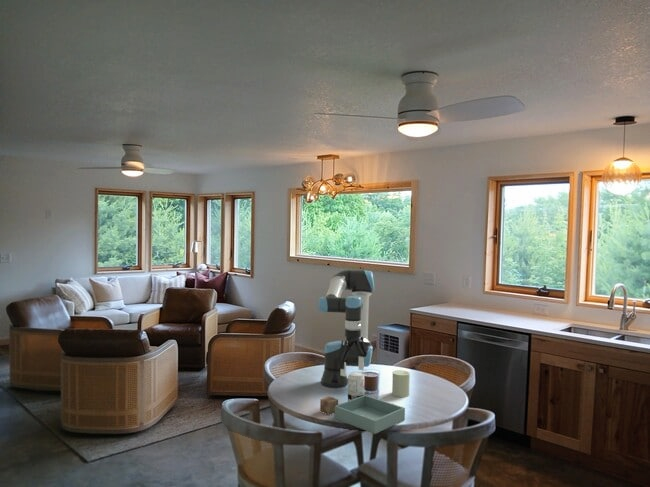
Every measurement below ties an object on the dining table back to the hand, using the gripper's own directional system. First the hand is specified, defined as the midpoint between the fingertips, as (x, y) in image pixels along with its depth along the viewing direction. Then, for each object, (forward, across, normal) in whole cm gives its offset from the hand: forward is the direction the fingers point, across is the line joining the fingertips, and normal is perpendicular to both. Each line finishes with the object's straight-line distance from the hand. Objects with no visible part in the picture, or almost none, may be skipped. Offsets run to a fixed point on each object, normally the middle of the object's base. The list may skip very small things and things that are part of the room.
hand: (352, 372), depth 230 cm
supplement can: (+18, +7, +3) cm, 19 cm away
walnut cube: (+18, -10, +6) cm, 21 cm away
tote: (+18, -4, -13) cm, 23 cm away
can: (+18, +35, -5) cm, 39 cm away
